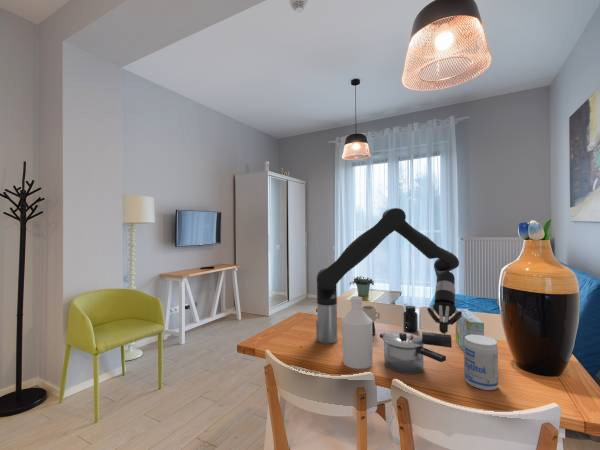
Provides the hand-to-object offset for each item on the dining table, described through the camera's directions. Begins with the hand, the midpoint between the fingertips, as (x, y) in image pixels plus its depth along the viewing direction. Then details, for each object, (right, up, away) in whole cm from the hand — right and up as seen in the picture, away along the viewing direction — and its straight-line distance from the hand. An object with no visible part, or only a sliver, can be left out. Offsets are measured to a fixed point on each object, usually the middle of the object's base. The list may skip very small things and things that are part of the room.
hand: (443, 332), depth 111 cm
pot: (-14, -12, -4) cm, 19 cm away
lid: (-12, -3, -3) cm, 12 cm away
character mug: (-21, -13, +33) cm, 41 cm away
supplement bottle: (+1, -13, +36) cm, 39 cm away
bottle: (-33, -12, +2) cm, 35 cm away
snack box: (+17, -12, +12) cm, 24 cm away
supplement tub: (+5, -12, -15) cm, 20 cm away
